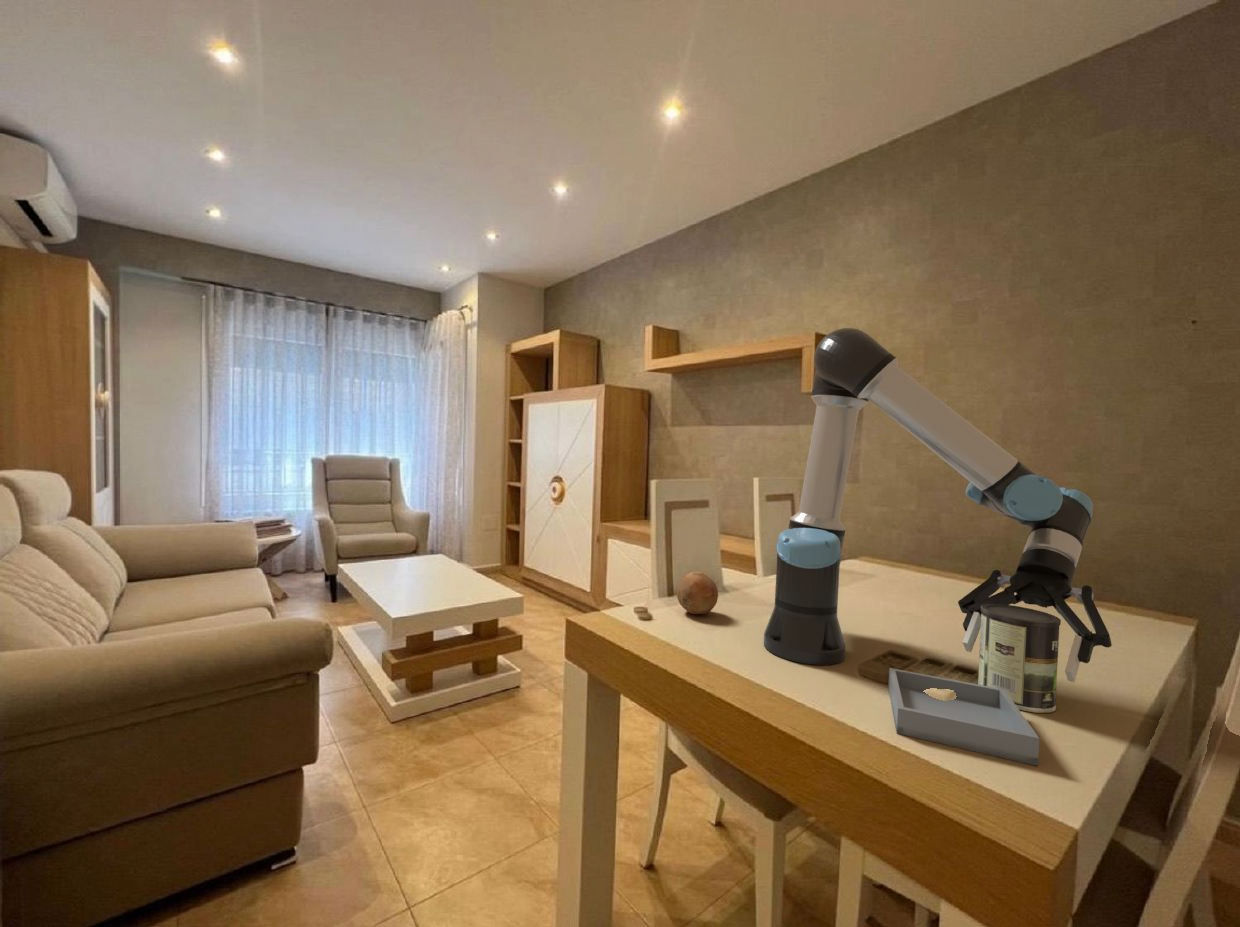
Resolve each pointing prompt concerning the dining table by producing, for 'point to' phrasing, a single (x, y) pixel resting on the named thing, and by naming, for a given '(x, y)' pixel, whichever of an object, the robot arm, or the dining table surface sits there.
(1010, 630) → the coffee can
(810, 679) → the dining table surface
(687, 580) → the onion
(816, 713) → the dining table surface
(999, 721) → the tray
